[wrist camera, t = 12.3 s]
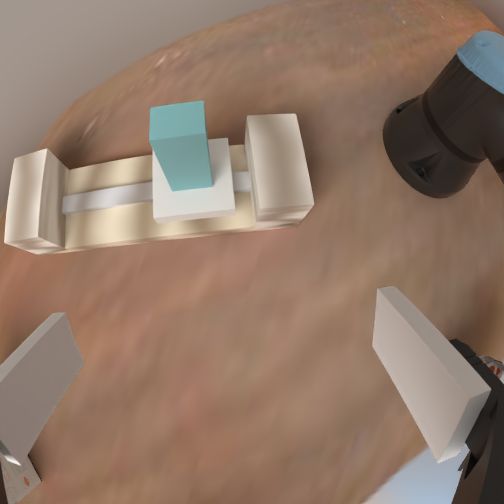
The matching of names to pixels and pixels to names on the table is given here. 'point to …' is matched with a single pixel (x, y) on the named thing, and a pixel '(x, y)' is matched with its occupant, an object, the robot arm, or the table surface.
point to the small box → (18, 478)
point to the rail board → (141, 195)
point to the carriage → (188, 165)
